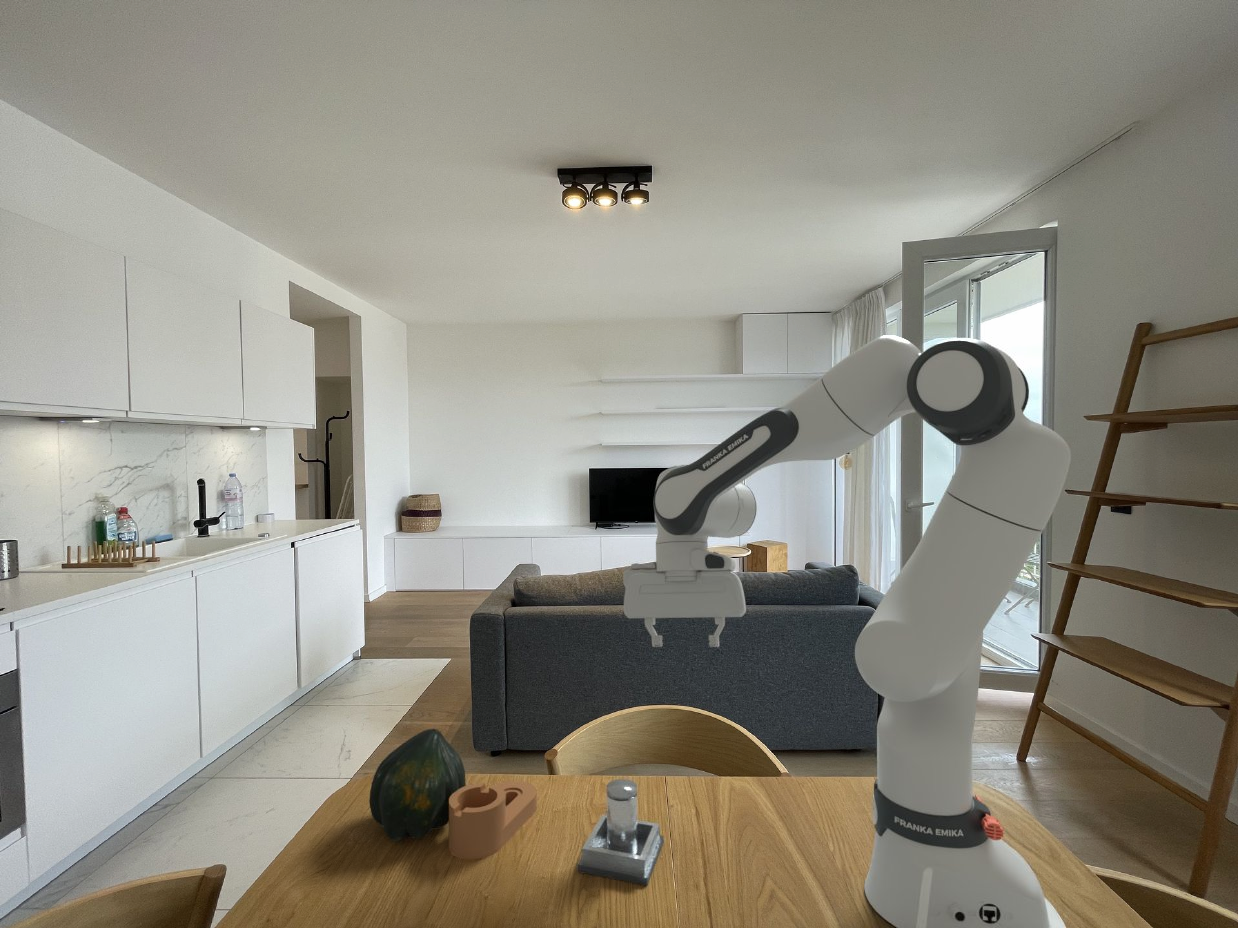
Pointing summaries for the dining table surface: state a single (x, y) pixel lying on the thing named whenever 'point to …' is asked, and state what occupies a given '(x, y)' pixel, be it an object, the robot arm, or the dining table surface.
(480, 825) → the bracket
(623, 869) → the square open tray
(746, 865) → the dining table surface
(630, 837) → the upright metal cylinder
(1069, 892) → the dining table surface
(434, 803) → the squash
